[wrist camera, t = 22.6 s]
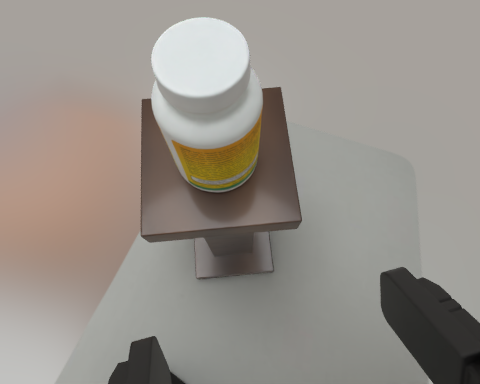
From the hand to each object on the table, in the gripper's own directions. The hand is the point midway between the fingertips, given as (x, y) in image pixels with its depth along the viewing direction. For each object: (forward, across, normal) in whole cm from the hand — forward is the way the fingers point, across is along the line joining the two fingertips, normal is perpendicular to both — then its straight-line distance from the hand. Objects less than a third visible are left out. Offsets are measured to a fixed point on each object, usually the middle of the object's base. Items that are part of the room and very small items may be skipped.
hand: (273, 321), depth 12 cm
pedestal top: (+15, 0, 0) cm, 15 cm away
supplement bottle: (+13, 0, -2) cm, 13 cm away
